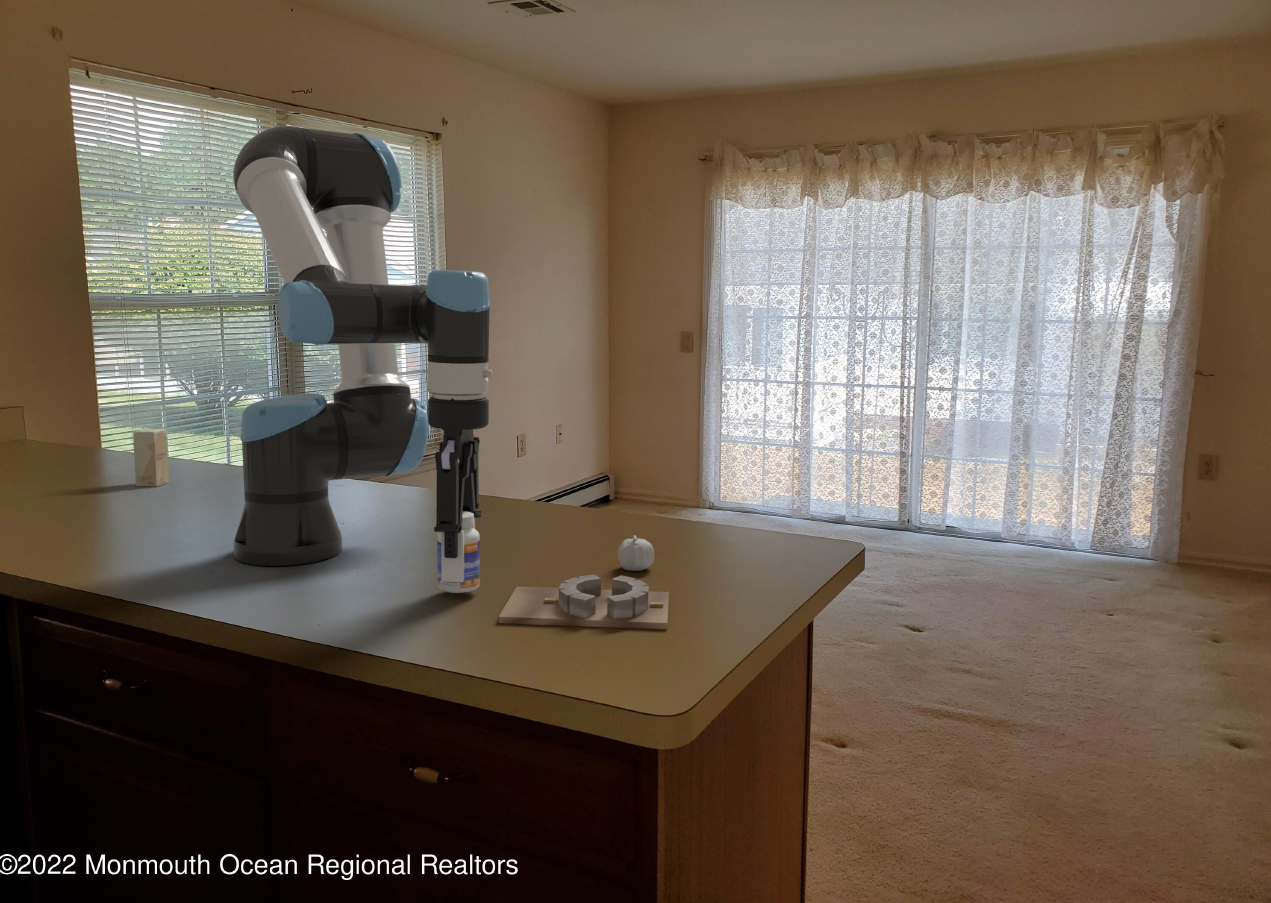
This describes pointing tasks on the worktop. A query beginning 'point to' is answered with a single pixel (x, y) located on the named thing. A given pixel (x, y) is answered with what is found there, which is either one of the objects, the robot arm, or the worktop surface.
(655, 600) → the socket board
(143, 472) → the box
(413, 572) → the worktop surface
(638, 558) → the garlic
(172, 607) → the worktop surface
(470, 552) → the pill bottle
